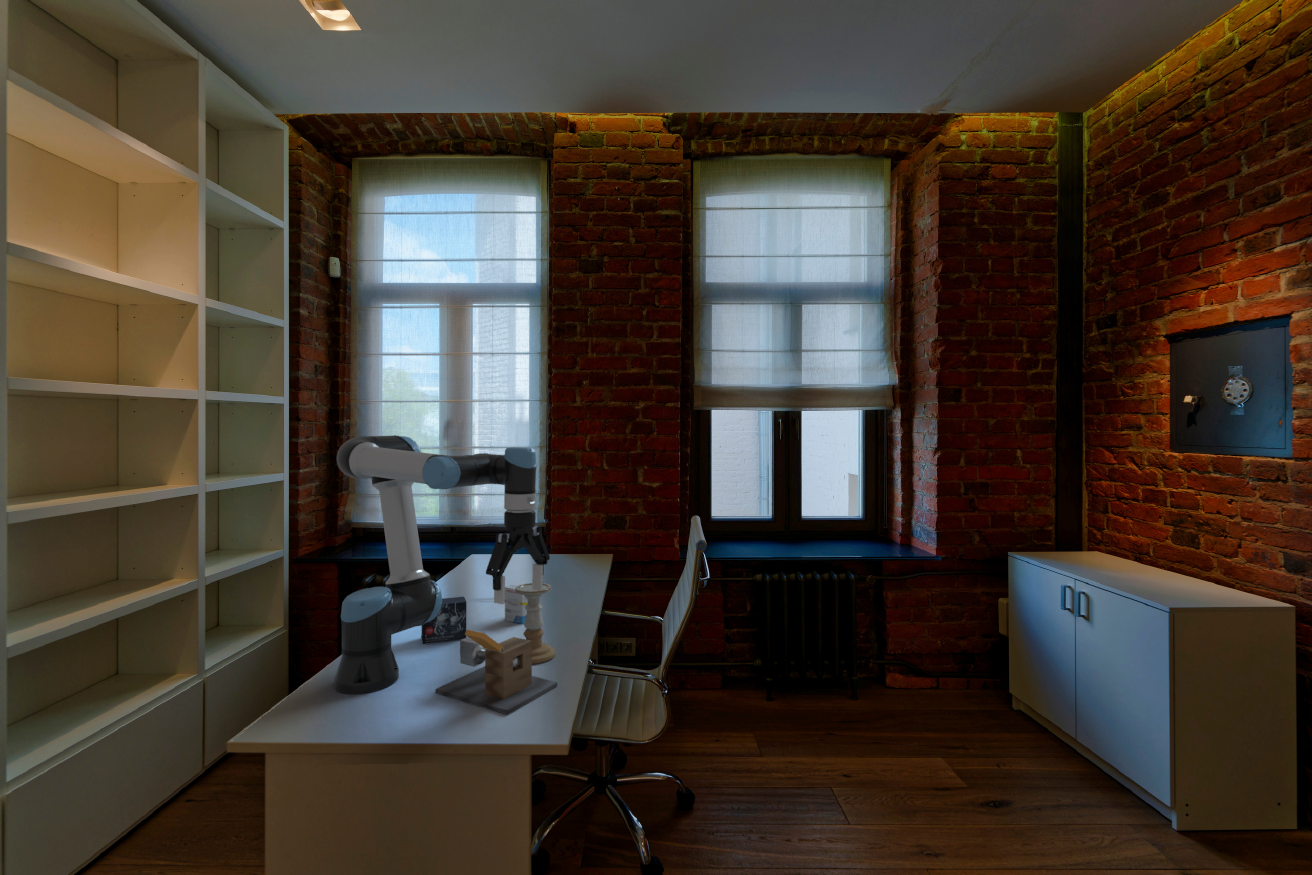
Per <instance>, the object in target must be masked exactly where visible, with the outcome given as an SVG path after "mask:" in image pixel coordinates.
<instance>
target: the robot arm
mask: <svg viewBox="0 0 1312 875" xmlns="http://www.w3.org/2000/svg"><path fill="white" fill-rule="evenodd" d="M336 464H337V466H338V469H339V470H340V471H341V472H342V473H343V474H344V475H345V476H347V477H349V478H353V479H360V480H361V479H364V480H368V479H371V485H372V487H373V488H375V489H376V490H378V493H379V499H380V508H381V515H382V524H383V529H384V536H385V538H384V539H385V544H386V553H387V558H388V559H387V561H388V567H389V572H390V573H389V574H390V576H389V578H388V579H387V580H386V581H385V586H373V587H369V588H368V587H366V588H363V589H359V590H356V591H354V592H352V593H350V594H348V595H347V596H346V597H344V600H343V601H342V603H341V604H342V605H341V611H340V612H341V613H340V619H341V658H340V661H339V665H338V668H337V671H336V675H334V676H335V677H334V689H335V690H336V691H337V692H340V693H342V694H343V693H344V694H352V695H353V694H354V695H355V694H364V693H371V692H375V691H380V690H382V689H385V688H387V687H390V686H392V685H393V684H395V683H396V682H397V681H398V680H399V677H400V671H399V666H398V664H397V660H396V657H395V654H394V653H393V650H392V636H393V635H394V634H398V633H400V632H404V631H406V630H408V629H411V628H412V629H413V628H415V627H422V625H423V624H425V623H427V622H429V621H431V620H433V619H434V618H435V617H436V616H437V614H438V613H439V611H440V608H441V605H442V599H443V595H442V590H441V588H440V586H438V583H437V582H436V581H435V580H433V579H431V575H430V573H429V572H427V571H426V570H424V566H423V560H422V552H421V546H420V538H419V537H420V536H419V532H418V531H419V530H418V523H417V516H416V508H415V502H414V494H413V489H412V486H413V485H414V483H415V484H423V485H426V486H428V488H430V489H432V490H448V489H454V488H461V487H472V486H481V485H502V486H504V494H503V495H504V498H503V499H504V501H503V502H504V504H503V508H504V509H505V510H506V511H504V512H503V513H504V514H503V520H504V522H503V525H504V527H505V528H506V532H505V533H500V532H498V533H496V536H495V544H494V545H493V546H494V547H493V550H492V553H491V555H490V559H489V561H488V564H487V568H486V570H485V575H487V576H491V577H492V590H493V603H494V604H499V605H505V587H506V576H505V575H503V574H504V573H505V571H506V569H507V567H508V565H509V563H510V562H511V560H512V557H513V556H514V554H515V553H516V552H517V551H518V550H522V549H526V551H527V552H528V554H529V555H530V556H531V559H533V562H534V563H533V564H532V582H531V583H532V589H533V590H538V591H542V590H543V580H544V579H543V578H544V577H543V576H544V569H545V568H544V566H545V565H546V566H547V564H548V563H549V562H548V561H549V560H550V553H549V551H548V548H547V546H546V541H545V539H544V536H543V528H542V526H536V517H537V516H536V515H537V514H536V513H537V512H536V511H535V509H536V491H537V490H536V487H537V486H536V484H537V483H536V480H537V478H536V477H537V466H538V465H537V464H538V463H537V454H536V450H535V449H534V448H532V447H528V446H527V447H525V446H523V447H521V446H519V447H516V446H512V447H506V448H505V450H504V454H495V453H493V454H491V453H481V452H480V453H475V454H469V455H468V454H466V455H449V454H448V455H447V454H437V453H430V452H429V453H428V452H422V451H421V448H420V446H419V445H418V443H417V442H416V441H415V440H413V438H411V437H410V436H403V435H396V434H395V435H371V436H370V435H367V436H366V435H362V436H355V437H353V438H350V439H348V440H346V441H345V442H344V443H343V444H342V445H340V447H339V448H338V451H337V453H336Z"/></svg>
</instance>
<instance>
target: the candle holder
mask: <svg viewBox="0 0 1312 875" xmlns="http://www.w3.org/2000/svg"><path fill="white" fill-rule="evenodd" d="M526 583H527V584H522V585H519V586H517V587H516V588H515V592H516V593H518V594H521V595H524V596H525V597H526V598H527V601H528V603H527V605H526V606H525V609H526V610H527V614H526V619H525V622H524V623H523V626H524V628H525V630H524V632H523V636H524V637H525V640H530V641H532V665H534V664H535V665H536V664H542V663H546V662H548V661H551V660H552V659H554V657H555V656H556V650H555V648H554V647H553V646H550V645H549V644H547V643H545V642H543V638H542V637H543V635H544V634H545V630H543V629H542V628H543V626H544V620H543V617H542V614H541V613H542V612H541V609H543V605H542V603H541V601H540V600H541V597H543V595H546V594H547V593H550V592H551V591H552V585H551V584H550V583H545V582H544V583H543V590H542V591H538V590H533V589H532V582H526Z"/></svg>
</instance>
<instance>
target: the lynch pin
mask: <svg viewBox="0 0 1312 875" xmlns="http://www.w3.org/2000/svg"><path fill="white" fill-rule="evenodd" d="M459 647H460V648H459V653H460V655H459V656H460V657H459V658H460V660H459V661H460V664H462V665H464V666H465V665H466V666H470V667H473V668H474V667H477V666H479V665H481V664H483V663H485V649H486V648H483V647H482V646H481V645H479V644H478V643H476V642H475V641H473V640H472V639H471V638H469V637H468V636H466V638H465V639H461V640H459ZM519 663H520V659H519V658H517V657H514V658H513V667H514V668H517V667H518V666H519Z"/></svg>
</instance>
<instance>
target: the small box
mask: <svg viewBox="0 0 1312 875" xmlns="http://www.w3.org/2000/svg"><path fill="white" fill-rule="evenodd" d="M466 631H467V600H466V598H465V596H457V597H456V596H455V597H454V596H453V597H444V598H443V597H442V605H441V608H440V611H439V613H438V614H437V616H436V617H435V618H434V619H433V620H431V621H429V622H427V623H425V624H423V625H421V636H420V638H421V643H422V645H428V644H429V645H430V644H435V643H436V644H437V643H445V642H451V641H458V640H459V641H460V640H462V639H465V638H467V636H466V635H465V633H466Z"/></svg>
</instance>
